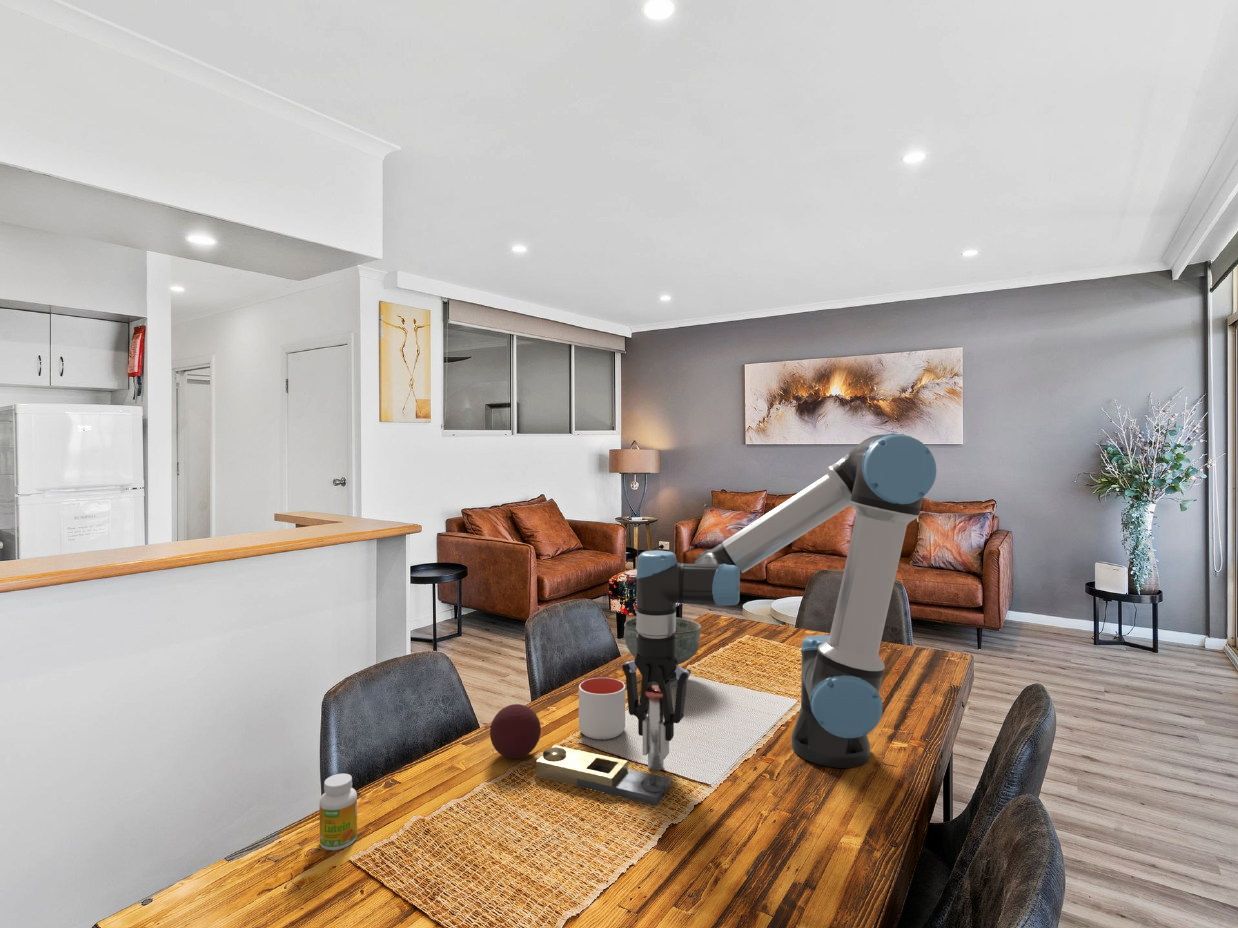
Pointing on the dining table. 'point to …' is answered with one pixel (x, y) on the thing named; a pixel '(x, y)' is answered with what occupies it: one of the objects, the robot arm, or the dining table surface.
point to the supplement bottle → (338, 813)
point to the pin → (654, 728)
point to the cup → (602, 708)
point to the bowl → (685, 641)
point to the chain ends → (600, 774)
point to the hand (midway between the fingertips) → (655, 753)
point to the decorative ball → (515, 731)
